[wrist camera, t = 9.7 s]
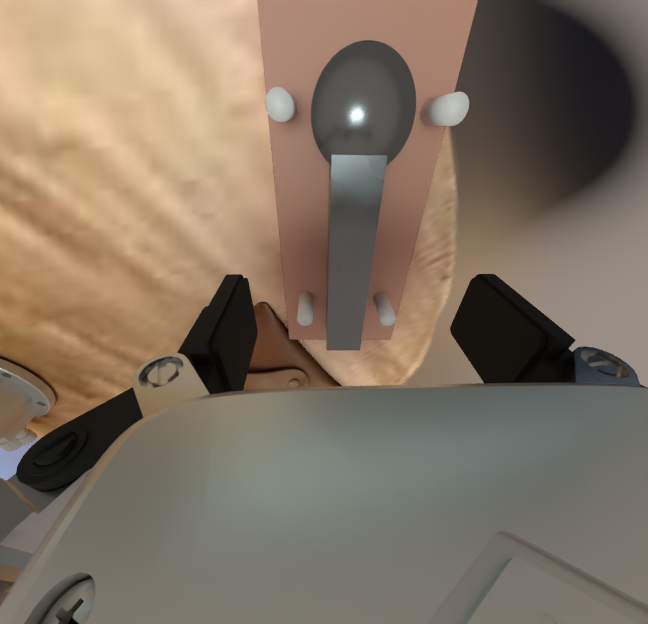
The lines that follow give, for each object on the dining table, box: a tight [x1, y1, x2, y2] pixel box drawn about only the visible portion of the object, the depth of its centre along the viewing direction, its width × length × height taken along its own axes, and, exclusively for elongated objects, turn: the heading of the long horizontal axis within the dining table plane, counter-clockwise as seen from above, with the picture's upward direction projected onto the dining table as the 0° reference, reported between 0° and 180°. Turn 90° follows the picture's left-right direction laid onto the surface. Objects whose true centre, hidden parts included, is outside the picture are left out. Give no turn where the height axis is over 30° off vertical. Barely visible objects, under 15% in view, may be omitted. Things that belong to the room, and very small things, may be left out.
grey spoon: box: [311, 40, 416, 350], centre depth 16 cm, size 18×5×3 cm, turn 179°
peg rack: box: [257, 0, 478, 340], centre depth 17 cm, size 22×10×4 cm, turn 179°
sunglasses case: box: [244, 302, 342, 390], centre depth 27 cm, size 18×7×7 cm, turn 32°
